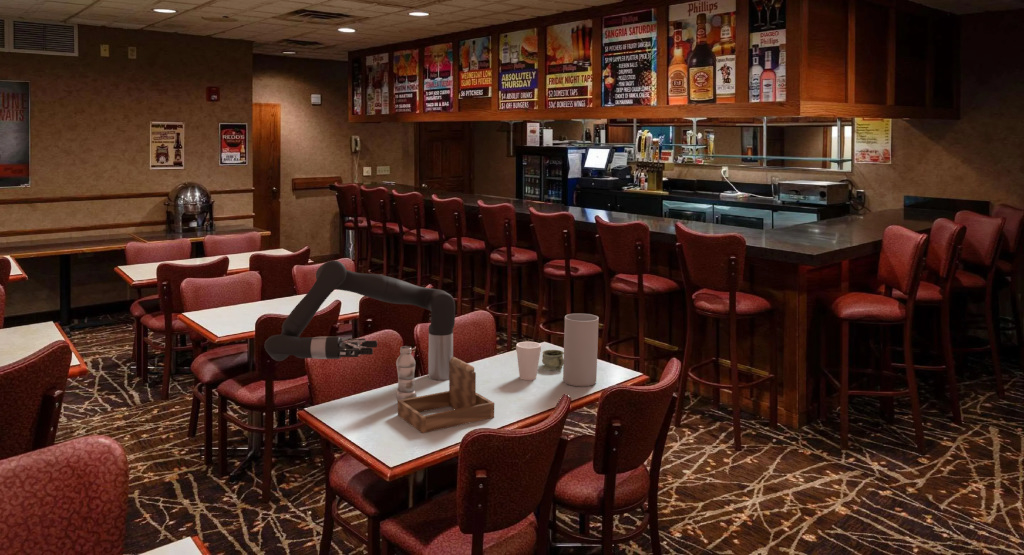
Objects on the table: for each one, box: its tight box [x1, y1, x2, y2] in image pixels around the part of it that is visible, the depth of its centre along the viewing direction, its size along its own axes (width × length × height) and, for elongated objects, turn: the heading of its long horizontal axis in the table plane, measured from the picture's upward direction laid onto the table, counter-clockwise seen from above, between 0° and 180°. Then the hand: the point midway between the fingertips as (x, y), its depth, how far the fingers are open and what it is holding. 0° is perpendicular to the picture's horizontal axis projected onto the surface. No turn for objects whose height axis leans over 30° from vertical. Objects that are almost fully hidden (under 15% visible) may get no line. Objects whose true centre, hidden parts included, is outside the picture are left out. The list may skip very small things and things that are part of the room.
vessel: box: [541, 349, 564, 371], centre depth 300 cm, size 12×9×6 cm
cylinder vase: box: [562, 313, 600, 388], centre depth 281 cm, size 12×12×25 cm
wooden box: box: [397, 356, 495, 434], centre depth 244 cm, size 18×26×18 cm
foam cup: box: [515, 341, 542, 381], centre depth 286 cm, size 10×9×13 cm
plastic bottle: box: [395, 345, 417, 402], centre depth 255 cm, size 6×7×20 cm
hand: (374, 347), depth 253 cm, fingers open, 8 cm apart
